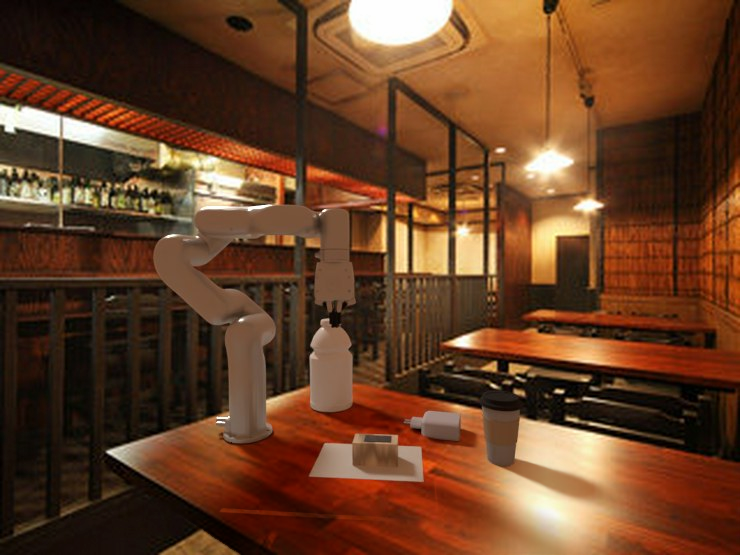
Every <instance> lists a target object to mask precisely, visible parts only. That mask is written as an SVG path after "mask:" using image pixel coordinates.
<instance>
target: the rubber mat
mask: <svg viewBox="0 0 740 555" xmlns="http://www.w3.org/2000/svg"><path fill="white" fill-rule="evenodd" d="M422 452H423V451H422V446H414V445H413V446H412V445H411V446H410V445H398V467H383V466H359V465H352V443H337V442H336V443H333V442H329V443H328V442H325V443H324V444H323V446H322V448H321V450H320V452H319V454H318V456H317V458H316V460H315V462H314V463H313V464H314V465H313V467H312V469H311V471H310V473H309V475H308V477H310V478H311V477H312V478H331V479H332V478H333V479H334V478H335V479H350V480H352V479H354V480H374V481H375V480H376V481H395V482H413V483H414V482H415V483H418V482H419V483H424V481H425V480H424V468H423V453H422Z"/></svg>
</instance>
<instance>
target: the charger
mask: <svg viewBox="0 0 740 555" xmlns="http://www.w3.org/2000/svg"><path fill="white" fill-rule="evenodd" d="M461 416H462V415H461V413H458V412H447V411H435V410H428V411H426V412H424V415H423V417H419V416H418V417H417V416H412V417H411V419H406V418H405V419H404V421H403V424H407V425H409V427H410V429H415V430H416V429H418V430H421V432H420V433H421V435H422V437H428V439H432V440H433V439H435V440H442V441H443V440H444V441H452V442H460V436H461V427H462V426H461V424H462V419H461V418H462V417H461Z"/></svg>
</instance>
